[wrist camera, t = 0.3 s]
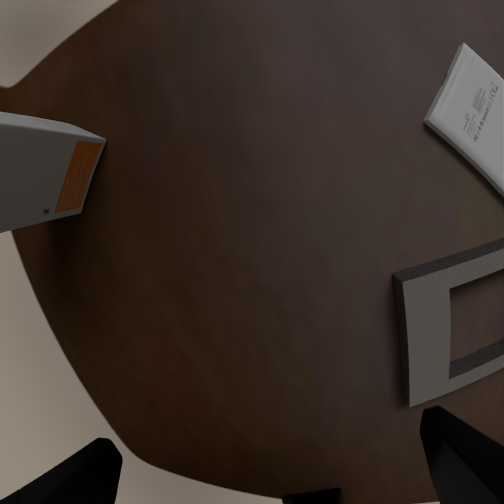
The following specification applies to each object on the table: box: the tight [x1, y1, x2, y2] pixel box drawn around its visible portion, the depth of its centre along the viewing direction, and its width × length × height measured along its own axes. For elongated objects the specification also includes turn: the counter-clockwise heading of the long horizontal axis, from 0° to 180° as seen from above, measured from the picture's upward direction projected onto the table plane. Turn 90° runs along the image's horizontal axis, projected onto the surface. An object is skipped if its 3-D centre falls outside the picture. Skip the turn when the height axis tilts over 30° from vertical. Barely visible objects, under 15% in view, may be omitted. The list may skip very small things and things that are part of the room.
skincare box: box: [0, 112, 106, 233], centre depth 15 cm, size 6×4×12 cm
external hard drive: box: [423, 43, 504, 198], centre depth 17 cm, size 2×8×12 cm
